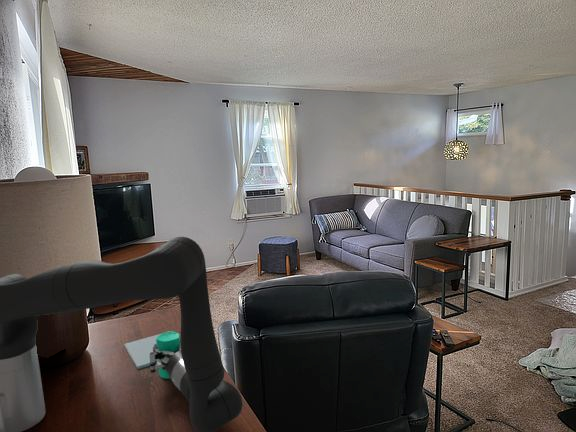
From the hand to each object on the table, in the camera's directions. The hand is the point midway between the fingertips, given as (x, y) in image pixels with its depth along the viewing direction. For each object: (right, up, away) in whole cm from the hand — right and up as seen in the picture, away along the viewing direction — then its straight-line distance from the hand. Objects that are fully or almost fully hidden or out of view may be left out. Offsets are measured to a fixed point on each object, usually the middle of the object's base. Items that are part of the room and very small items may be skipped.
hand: (165, 344), depth 105 cm
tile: (-7, -5, +11) cm, 14 cm away
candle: (+2, -7, -1) cm, 8 cm away
